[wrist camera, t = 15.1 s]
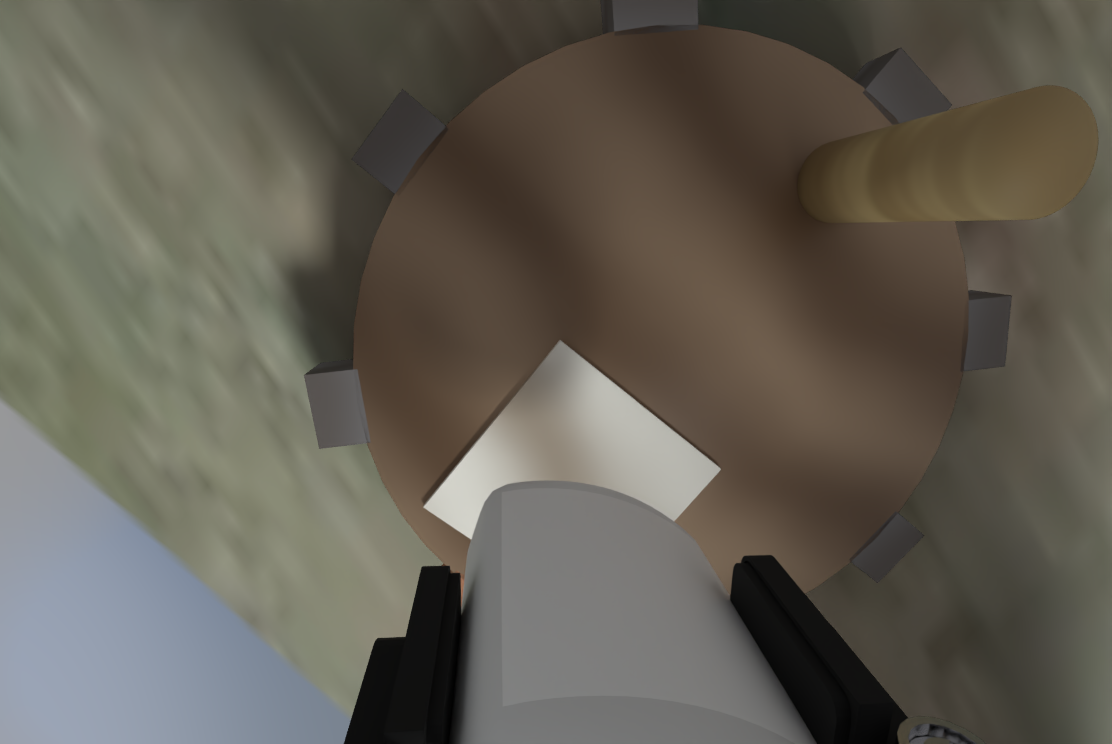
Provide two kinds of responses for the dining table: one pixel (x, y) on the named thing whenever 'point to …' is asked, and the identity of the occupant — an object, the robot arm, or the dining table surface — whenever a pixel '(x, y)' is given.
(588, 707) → the eye dropper bottle
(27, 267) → the dining table surface
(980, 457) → the dining table surface
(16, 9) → the dining table surface
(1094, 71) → the dining table surface
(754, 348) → the sprocket
